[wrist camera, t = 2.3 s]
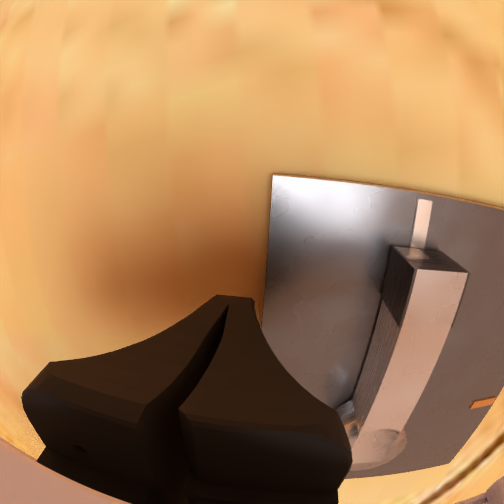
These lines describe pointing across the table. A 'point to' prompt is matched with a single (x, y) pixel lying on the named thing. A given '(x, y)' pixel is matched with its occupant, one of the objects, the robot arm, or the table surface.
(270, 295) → the plate
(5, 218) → the table surface
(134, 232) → the table surface
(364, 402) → the lever
